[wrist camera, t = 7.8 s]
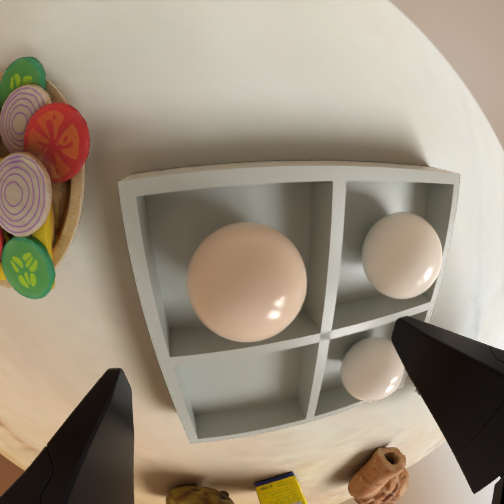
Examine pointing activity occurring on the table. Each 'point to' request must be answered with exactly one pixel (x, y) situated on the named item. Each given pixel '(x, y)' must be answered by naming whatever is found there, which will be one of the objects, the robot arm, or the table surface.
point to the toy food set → (37, 177)
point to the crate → (317, 269)
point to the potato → (197, 496)
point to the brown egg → (246, 282)
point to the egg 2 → (371, 369)
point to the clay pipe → (381, 478)
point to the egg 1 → (401, 255)
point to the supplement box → (280, 490)
